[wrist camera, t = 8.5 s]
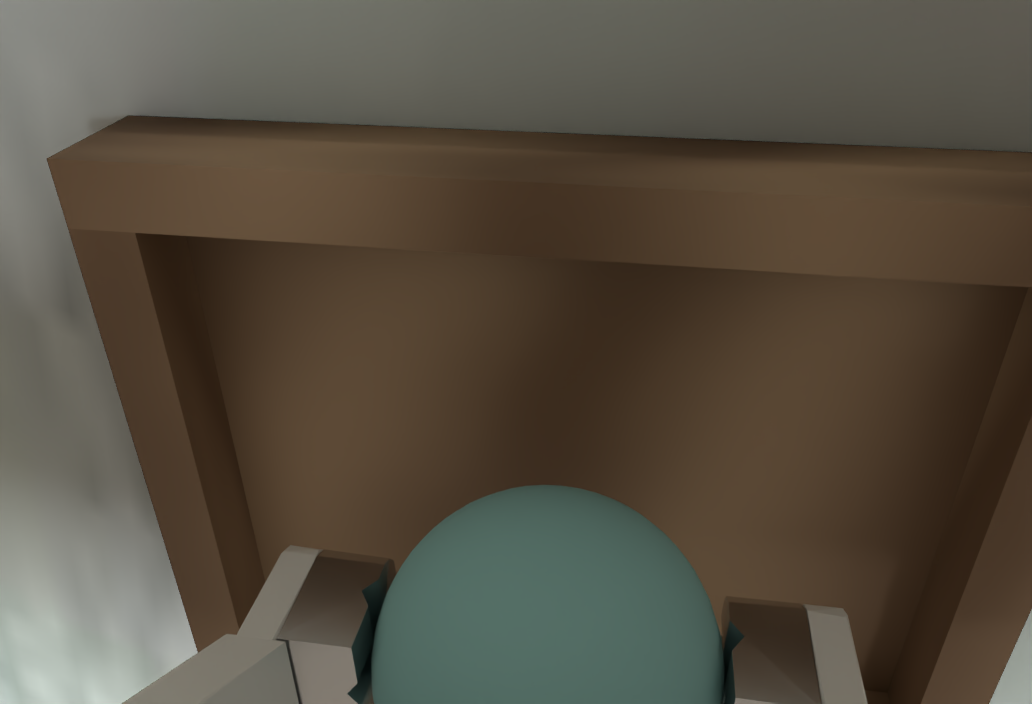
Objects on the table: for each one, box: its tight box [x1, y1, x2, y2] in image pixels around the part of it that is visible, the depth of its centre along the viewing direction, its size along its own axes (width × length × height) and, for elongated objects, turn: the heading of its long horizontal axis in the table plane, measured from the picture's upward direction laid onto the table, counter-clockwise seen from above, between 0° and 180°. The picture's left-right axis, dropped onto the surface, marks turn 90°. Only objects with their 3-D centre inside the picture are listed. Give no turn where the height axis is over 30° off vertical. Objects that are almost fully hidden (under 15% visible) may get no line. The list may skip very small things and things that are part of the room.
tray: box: [47, 116, 1032, 704], centre depth 14 cm, size 14×11×2 cm
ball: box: [371, 485, 725, 704], centre depth 11 cm, size 4×4×4 cm
